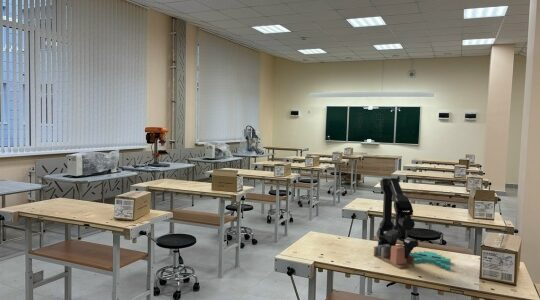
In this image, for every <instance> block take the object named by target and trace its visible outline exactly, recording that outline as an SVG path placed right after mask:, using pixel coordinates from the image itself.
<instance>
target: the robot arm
mask: <svg viewBox="0 0 540 300" xmlns="http://www.w3.org/2000/svg"><path fill="white" fill-rule="evenodd" d="M399 180H400V179H399V178H398V177H390V178H389V177H383V178H382V179H380V181H379V185H380V190H381V191H382V193H383V203H382V204H383V205H382V220H381V222H380V223H379V227H378V229H377V231H376V237H377V238H378V241H377V246H378V245H385V244H388V245H390V248H391V246H395V245H397V241H401V242H403V244H402V245H403V247H404V248H405V259H407V258H408V256H409V254H410V253H412V251H413V250H414V248H417V247H419V241H418V240H417V239H414V238H409V235H408V234H407V233H408V231H411V230H413V229H414V228H415V226H416V223H415V221H414V219H412V216H413V215H414V208H413V205H412V203H411V201H410V200H409V198H408V197H407V196H406V195H405V194H404V193H403V190H402V187H401V185H400V181H399ZM393 199H394V201H393ZM393 209H394V212H395V218H394V219H395V220H394V222H395V223H393V221H392V219H393V217H392V216H393V215H392V214H393V212H392V211H393Z"/></svg>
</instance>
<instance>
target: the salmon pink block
mask: <svg viewBox="0 0 540 300" xmlns="http://www.w3.org/2000/svg"><path fill="white" fill-rule="evenodd" d="M403 245H404V244H396V245H395V246H391V257H390V262H392V263H394V264H403V263H407V259H405V248H404V247H403Z"/></svg>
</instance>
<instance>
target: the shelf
mask: <svg viewBox="0 0 540 300" xmlns="http://www.w3.org/2000/svg"><path fill="white" fill-rule="evenodd" d="M373 248H374V249H373V257H375V258H377V259H379V260H381V261H383V262H385V263H386V264H389V265H391V266H393V267H395V268H397V269H399V270H401V269H409V268H413V267H414V266H415V263H414V256H411V255H409V256H408V258H407V263H403V264H394V263H392V262H390V257H391V248H390V245H388V244H385V245H378V244H377V246H374V247H373Z"/></svg>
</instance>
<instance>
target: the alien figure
mask: <svg viewBox="0 0 540 300" xmlns="http://www.w3.org/2000/svg"><path fill="white" fill-rule="evenodd" d="M409 255H411V256H414V264H417V263H418V264H419V263H420V264H422V263H426V262H427V263H428V264H432V263H433V264H434V265H435V266H436V267H439V268H441V269H444V270H445V271H448V272H451V258H447V257H446V256H442V254H438V253H437V252H433V251H426V250H423V251H418V252H417V251H414V252H411V253H410V254H409ZM427 263H426V264H427Z"/></svg>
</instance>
